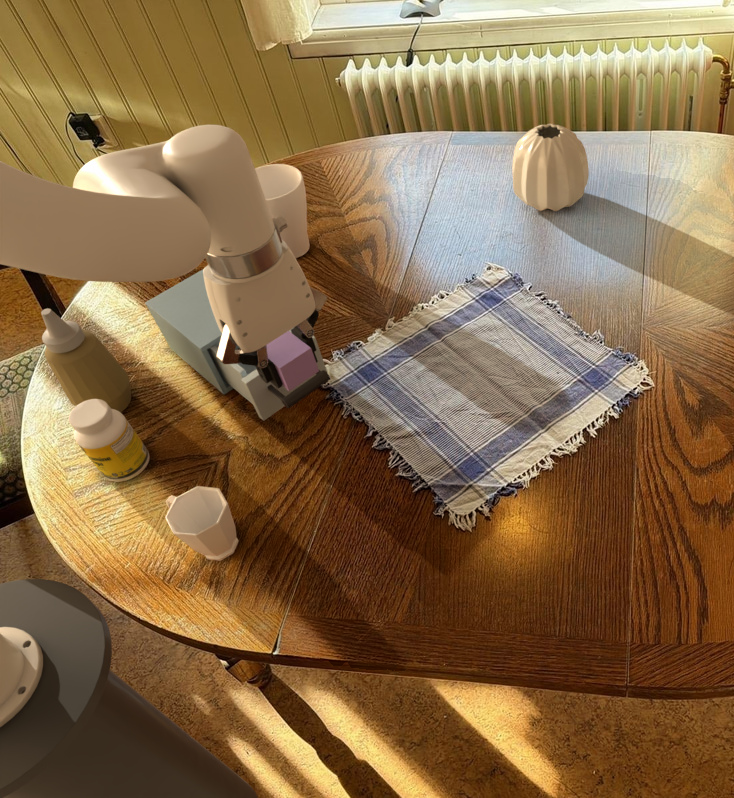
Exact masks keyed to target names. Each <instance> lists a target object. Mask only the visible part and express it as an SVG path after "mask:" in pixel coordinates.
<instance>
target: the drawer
mask: <svg viewBox="0 0 734 798" xmlns="http://www.w3.org/2000/svg"><path fill="white" fill-rule="evenodd" d="M292 329H293V328H292ZM289 331H290V332H291V330H289ZM312 338H313V341H314V344H315V347H316V351H315V355H316V358H317V360H318V362H317V366H318V369H319V372H317V373H316V374H314V375H313V376H311V377H310V378H308V379H307V380H305V381H304V382H303V383H301V384H300V385H298V386H297V387H295V388H294V389H292V390H291V391H288V390H287V389H286V388H285V387H284V386H282V387H280V388H279V389H278V388H277V387H276V386H274V385H273V384H272V383H271V382H269V383H265V382H264V381H263V380H262V379H261V377H260V376H259V374H258V371H257V369H256V367H255V366H254V365H245V364H242V363H237V364H223V363H222V362H221V361H220V360H219V359H217V357H216V356H217V352H218V348H219V344H220V342H218V343H216V344H215V345H213V346H212V347H210V348H208V349H207V350H208V352H209V354H210V356H211V358H212V360H213V362H214V364H215V366H216V368H217V370H218V372H219V374H220V376H221V378H222V379H223V380H225V381H226V382H227V383H228V384H229V385H230V386H232V387H233V390H235V392H237V393H239V395H241V396H242V397H243V398H245V399H246V401H248V402H249V403H250V404H252V406H253V408H254V411H255V412H256V414H257V416H258V418H259V419H261V420H262V421H263V422H264V421H266V420H267V419H269V418H270V417H272V416H273V415H275V414H276V413H277V412H279V411H280V410H281V409H283V408H284V407H285V408H286V409H291V408H292V407H294V406H295V405H297V404H298V403H299V402H301V401H302V400H304V399H306V398H307V397H308V396H309V395H310V394H312V393H313V392H314V391H316V390H318V389H319V388H320V387H322V386H323V385H325V383H327V382H329V381H330V380H331V376H330V374H329V373H328V370H327V368H326V364H325V361H324V359H323V358H324V357H323V356H322V353H321V350H320V347H319V343H318V341H317V338H316V336H315V335H313V336H312ZM237 348H240V347H239V346H238V345H237V344H236V348H235V349H237Z"/></svg>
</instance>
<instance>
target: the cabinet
mask: <svg viewBox="0 0 734 798" xmlns="http://www.w3.org/2000/svg"><path fill="white" fill-rule="evenodd" d="M144 305H145V306H146V308H147V310H148V311H149V313H150V315H151V317H152V318H153V320H154V322H155V324H156V325H157V327H158V329H159V331H160V332H161V334H162V336H163V338H164V339H165V342H166V343H167V345H168V347H169V349H170V350H171V351H172V352H174V353H175V354H176V355H177V356H178V357H180V359H182V360H183V361H184V362H185V363H186V364H187V365H189V366H190V367H191V368H192V369H193V370H195V372H197V373H198V374H199V375H200V376H201V377H202V378H204V379H205V380H206V381H207V382H209V384H211V385H212V386H213V387H214V388H215V389H217V390H218V391H219V392H220V393H221V394H222V395H226V394H227V393H229V392H231V391H232V390H234V388H233V387H232V386H230V385H229V384H228V383H227V382H226V381H225V380H223V379H222V378H221V376H220V374H219V372H218V370H217V368H216V366H215V364H214V362H213V360H212V358H211V356H210V354H209V352H208V350H207V349H208V348H210V347H212V346H213V345H215V344H216V343H218V342H220V340H221V336H222V333H221V331H220V329H219V327H218V324H217V322H216V319H215V317H214V314H213V311H212V308H211V305H210V302H209V299H208V295H207V291H206V287H205V282H204V276H203V269H201V270H199V271H198V272H196V273H194V274H192V275H190V276H188V277H187V278H185V279H183V280H182V281H181V282H178V283H177V284H175V285H173V286H172V287H170V288H168V289H166V290H164V291H163V292H161V293H159V294H158V295H155V296H154V297H152V298H150V299H149V300H147V301H145V302H144Z"/></svg>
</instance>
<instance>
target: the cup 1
mask: <svg viewBox="0 0 734 798" xmlns="http://www.w3.org/2000/svg"><path fill="white" fill-rule="evenodd" d="M165 504H166V506H167V508H168V511H167V512H166V515H165V517H164V518H165V520H166V523H167V524H168V526H169V528H170V531H171V533H172V534H173V535H174V536H175V537H177V538H178V539H179V540H181V541H182V542H183V543H184V544H186V545H187V546H188V547H189V548H190V549H192V550H193V551H194V552H197V553H198V554H201V555H202V556H205V558H206V559H207V560H210V561H222V560H225V559H226V558H228V557H230V556H231V555H233V554H234V553H235V550H236V549H237V547H238V545H239V541H240V540H239V539H238V537H237V530H236V524H235V520H234V518H233V515H232V511H231V508H230V505H229V502H228V500H226V497H225V495H224V494H223V492H222V491H221V489H220V487H210V486H201V485H197V486H194V487H193V488H191V489H189V490H188V491H186V492H184V493H182V494H180V495H178V496H175V495H173V494H171V495H170V496H168V498H167V499H165Z"/></svg>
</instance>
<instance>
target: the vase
mask: <svg viewBox="0 0 734 798" xmlns="http://www.w3.org/2000/svg"><path fill="white" fill-rule="evenodd" d="M511 164H512V167H511V172H512V187H513V192H514V195H515V196H516V197H517V198H519V200H521V201H522V202H523V204H525V205H526V206H528V207H532V208H534V209H536V210H537V211H540V212H543V211H545V210H548V209H549V210H551V211H553V212H558V211H560V210H562V209H563V208H570V207H572V206H573V205H574V204H576V203H578V201H579V200H580V199H581V198H582V197H583V196H584V193H585V188H586V186H587V185H588V181H589V174H590V173H589V172H590V170H589V162H588V157H587V151H586V148H585V146H584V143H583V142H582V140H580V139H579V138H578V137H577V134H576V133H575V132H573V131H572V130H571V129H569V128H567V127H565V126H563V125H559V124H555V123H547V124H539V125H537V126H535V127H533V128H531V129H529V130H528V131H527V132H526V133H525V134H524V135H523V136H521V137H520V138H519V139H518V141H517V142H516V144H515V146H514V150H513V156H512V163H511Z"/></svg>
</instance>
